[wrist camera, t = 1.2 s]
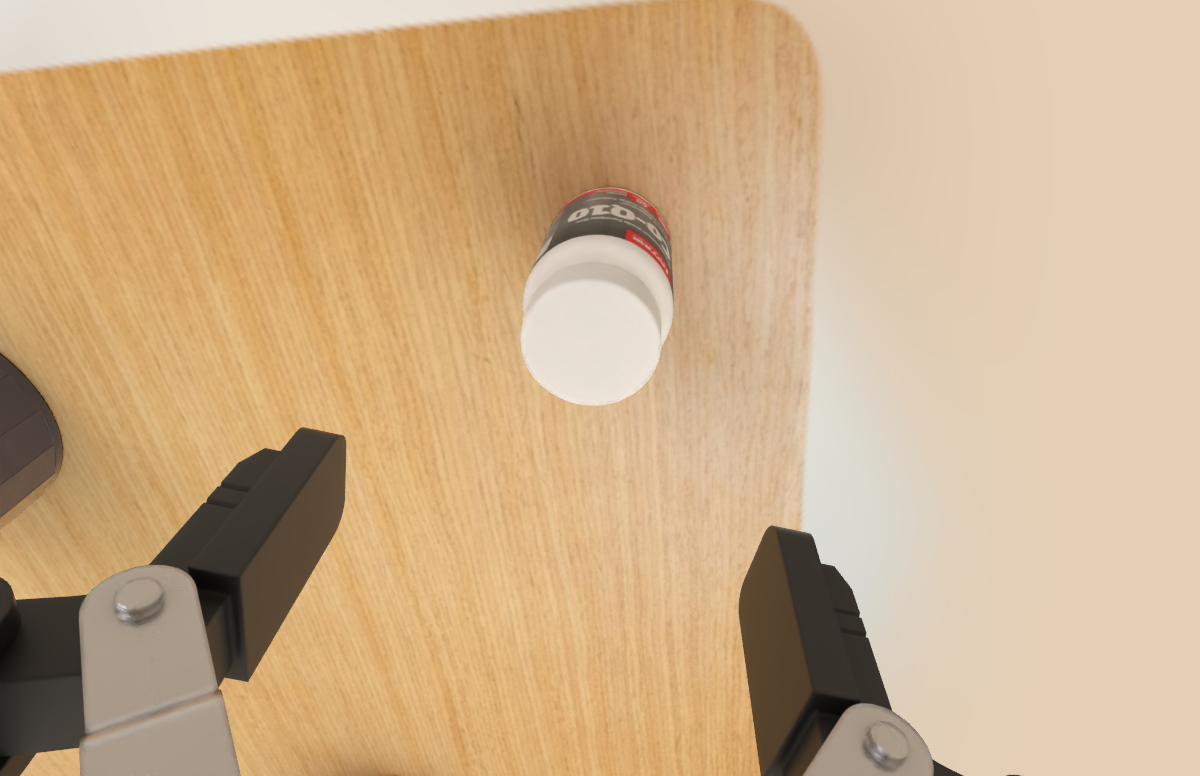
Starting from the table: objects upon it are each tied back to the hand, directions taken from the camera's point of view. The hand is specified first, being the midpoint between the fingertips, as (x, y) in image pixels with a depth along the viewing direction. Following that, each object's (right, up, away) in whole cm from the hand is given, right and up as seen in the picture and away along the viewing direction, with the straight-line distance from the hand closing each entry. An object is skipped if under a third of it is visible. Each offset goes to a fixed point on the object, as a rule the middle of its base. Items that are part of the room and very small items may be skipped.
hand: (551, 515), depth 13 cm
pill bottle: (+1, +8, +14) cm, 16 cm away
